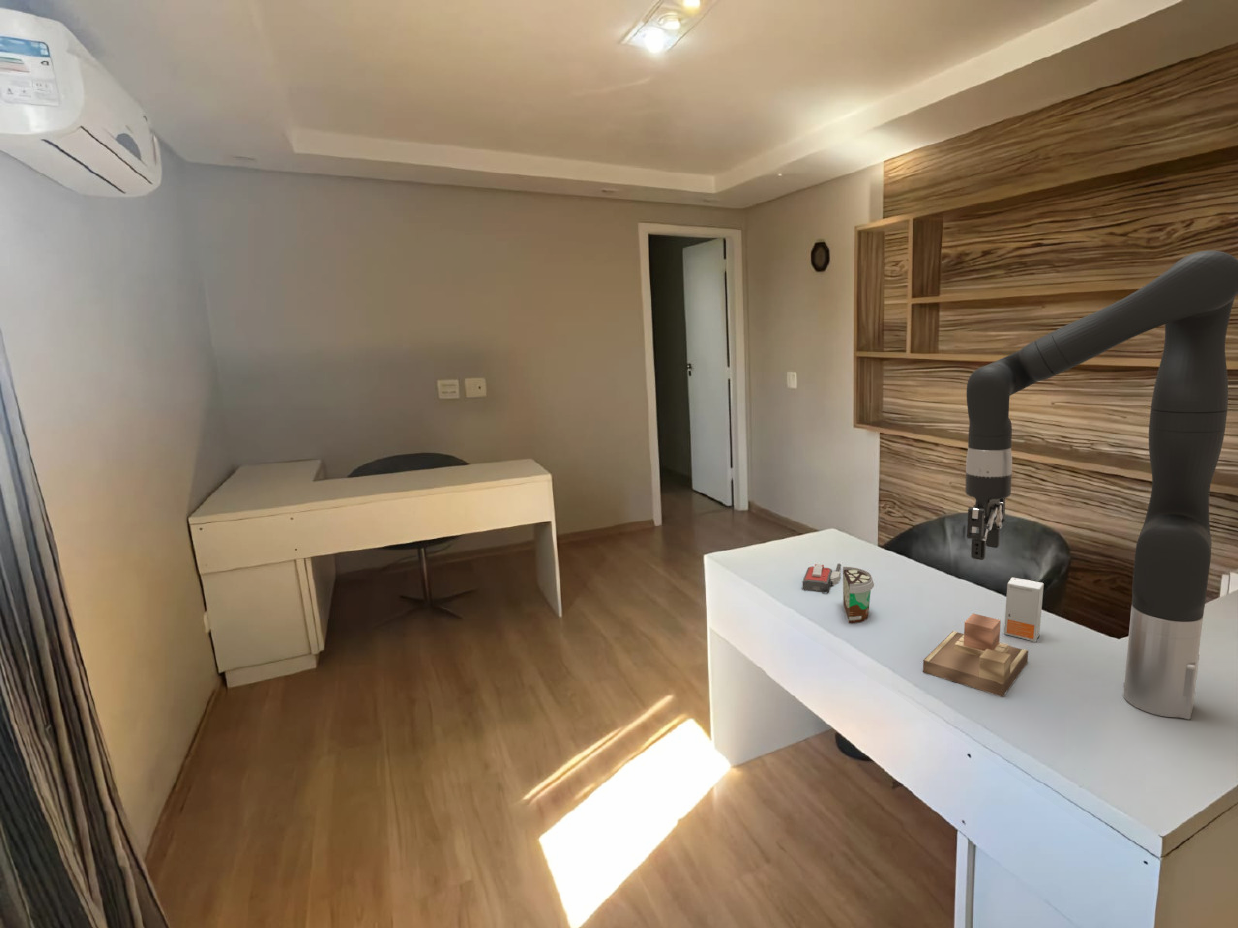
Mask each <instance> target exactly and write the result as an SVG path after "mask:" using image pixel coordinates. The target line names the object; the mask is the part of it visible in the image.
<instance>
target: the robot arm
mask: <svg viewBox="0 0 1238 928" xmlns="http://www.w3.org/2000/svg"><path fill="white" fill-rule="evenodd" d="M1237 296H1238V258H1236V257H1235V256H1233V254H1229V253H1227V252H1225V251H1219V250H1209V249H1208V250H1201V251H1197V252H1193V253H1191V254H1189V255H1186V256H1184V257H1182V258H1180V259H1179V260H1178V261H1176V262H1175V263H1174V264H1173V265H1172V266H1171V267H1169V269H1167V270H1166V271H1165V272H1163V273H1162V274H1160V275H1159V276H1157V277H1156V278H1154V279H1153V280H1152V281H1149V282H1148V283H1147V284H1146V285H1143V286H1142V287H1140V288H1139V289H1138V290H1136V291H1134V292H1132V293H1130V294H1129V295H1127V296H1125V297H1123V298H1121V299H1119V300H1118V301H1116V302H1114V303H1112V304H1110V305H1108V306H1105V307H1103V308H1102V309H1099V310H1097V311H1095V312H1092V313H1090V314H1088V315H1086V316H1084V317H1081V318H1079V319H1077V320H1074V321H1071V322H1070V323H1067V324H1066V325H1063V326H1061V327H1060V328H1058V329H1056V330H1054V331H1052V332H1049V333H1047V334H1046V335H1043V336H1041V337H1039V338H1038V339H1036V340H1033V341H1032V342H1030V343H1028V344H1026V345H1025V346H1023V347H1022V348H1021V349H1019V350H1017V351H1015V352H1013V353H1011V354H1009V355H1006V356H1004V357H1002V358H1000V359H998V360H996V361H992V363H989V364H986V365H983V366H981V367H979V368H977V369H975V370H974V371H973V372H972V373H971V374H970V375H969V377H968V380H967V383H966V404H967V405H966V406H967V414H968V421H969V424H968V426H969V427H968V439H967V440H968V441H967V442H968V443H967V446H968V448H967V452H966V453H967V454H966V460H965V461H966V463H965V494H966V495H967V496H969V497H972V498H974V499H975V504H974V505H973V506H970V507H968V509H967V528H966V538H967V539H970V540H971V554H970V555H971V556H970V557H971V558H972V559H975V560H979V561H982V560H984V559H985V558H986V548H988V547H989V548H992V549H993V548H994V549H998V548H999V546H1000V540H1001V539H1000V537H1001V535H1000V534H1001V529H1002V528H1003V524H1004V523H1005V521H1006V518H1005V517H1006V499H1007V498H1008V497H1010V496H1011V494H1012V479H1013V478H1012V472H1013V456H1012V437H1013V436H1012V435H1013V434H1012V433H1013V426H1012V422H1011V419H1010V417H1009V415H1010V414H1009V413H1010V411H1009V410H1010V396H1013V395H1014V394H1016V393H1018V392H1021V391H1022V390H1024V389H1026V388H1028V387H1030V386H1031V385H1034V384H1036V383H1038V382H1042V381H1045V380H1048V379H1050V378H1053V377H1055V376H1056V375H1060V374H1062V373H1064V372H1066V371H1069V370H1070V369H1072V368H1075V367H1077V366H1080V365H1081V364H1083V363H1086V362H1087V361H1089V360H1091V359H1093V358H1095V357H1097V356H1099V355H1102V353H1105V352H1107V351H1108V350H1110V349H1112V348H1114V347H1117V346H1118V345H1121V344H1122V343H1124V342H1126V341H1128V340H1130V339H1132V338H1134V337H1137V336H1139V335H1141V334H1143V333H1147V332H1149V331H1152V330H1153V329H1156V328H1158V327H1161V326H1163V325H1164V344H1163V350H1162V355H1161V360H1160V362H1159V366H1158V370H1157V374H1156V378H1155V381H1154V386H1153V392H1152V398H1151V404H1150V411H1149V413H1150V415H1149V425H1148V454H1149V463H1150V469H1151V470H1150V471H1151V480H1152V481H1151V491H1150V497H1149V503H1148V506H1147V507H1148V508H1147V511H1146V516H1145V519H1144V522H1143V525H1142V528H1141V530H1140V532H1139V536H1138V538H1137V541H1136V546H1135V552H1134V562H1133V563H1134V565H1133V575H1132V576H1133V577H1132V585H1131V586H1132V588H1131V589H1132V590H1131V592H1132V593H1131V594H1132V595H1131V596H1132V599H1131V607H1130V620H1129V628H1128V629H1129V630H1128V640H1127V649H1126V661H1125V670H1124V682H1123V692H1122V695H1123V696H1122V697H1123V698H1124V699H1125V700H1126V702H1128V703H1129V704H1130V705H1131V706H1133V707H1135V708H1137V709H1139V710H1141V711H1143V712H1147V713H1150V714H1152V715H1155V716H1161V717H1165V718H1166V717H1167V718H1168V717H1169V718H1181V719H1185V720H1191V717H1192V712H1193V709H1194V706H1195V704H1194V703H1195V696H1196V695H1195V694H1196V688H1197V680H1198V672H1199V671H1198V670H1199V665H1200V663H1199V661H1200V647H1201V637H1202V630H1203V621H1204V614H1205V607H1206V601H1207V591H1208V585H1209V584H1208V583H1209V575H1210V570H1211V569H1210V567H1211V558H1212V544H1213V543H1212V535H1211V529H1210V528H1211V527H1210V492H1211V491H1210V490H1211V484H1212V481H1213V477H1214V475H1215V471H1216V468H1217V466H1218V463H1219V459H1220V455H1221V451H1222V447H1223V444H1224V438H1225V432H1226V427H1227V426H1226V424H1227V416H1228V409H1229V408H1228V406H1229V383H1228V382H1229V381H1228V380H1229V379H1228V378H1229V377H1228V366H1227V359H1226V339H1227V338H1226V337H1227V332H1228V327H1229V321H1230V316H1231V313H1232V308H1233V305H1234V301H1235V298H1236V297H1237ZM977 530H978V532H977Z"/></svg>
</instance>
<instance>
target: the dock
mask: <svg viewBox="0 0 1238 928" xmlns="http://www.w3.org/2000/svg"><path fill="white" fill-rule="evenodd" d="M963 635H964V633H961V632H958V631H955V630H952V631H951V632H950V633H949V634H948V635H947V636H946V637H945V638H944V639H943V640H942V641H941V642H940V643H939V644H938V645H937V646H936V647H935V648H934V649H933V650H932V651H931V652H930V653H929V654H928V655H927V656H925V658H924V659H923V662H922V672H923V673H924V674H929V675H930V676H932V675H933V676H936V677H938V678H942V679H944V680H948V681H951V682H954V683H958V684H960V685H964V686H967V687H970V688H974V689H977V690H980V691H983V692H985V693H989V694H992V695H995V696H999V697H1002V698H1003V697H1004V696H1005V694H1006V693H1007V692H1008V691H1009V689H1010V688H1011V686H1012V685H1013V684H1014V682H1015V681H1016V679H1017V678H1018V677H1019V675H1020V674H1021V672H1022V671H1023V670H1024V669H1025V667H1026V666H1027V664H1028V661H1029V650H1028V649H1025V648H1018V647H1015V646H1012V645H1009V647H1008V651H1007V653H1006V654H1010V655H1011V659H1010V676H1009V677H1008V678H1007V680H1006V681H1005V682H1004V684H1003V683H999V682H996V681H992V680H988V679H985V678H981V677H979V656H976V655H972V654H968V653H965V652H961V651H958V650H954V649H955V643H956V642H957V641H958V640H959V639H960V638H961V637H962V636H963Z"/></svg>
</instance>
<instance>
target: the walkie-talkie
mask: <svg viewBox="0 0 1238 928" xmlns="http://www.w3.org/2000/svg"><path fill="white" fill-rule="evenodd" d="M841 567H842V564H841V563H837V565H836V567H835V568H836V569H835V570H833V569H832V568H829V567H825V565H824V564H819V563H818V564H817V563H815V564H814V566H809V567H808V568H807V569H806V572H805V574H804V577H803V579H802V590H803V591H807V592H815V593H828V592H830V588H831V586H835V585H839V582H840V579H841V577H842V576H841V571H840V570H841Z"/></svg>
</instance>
